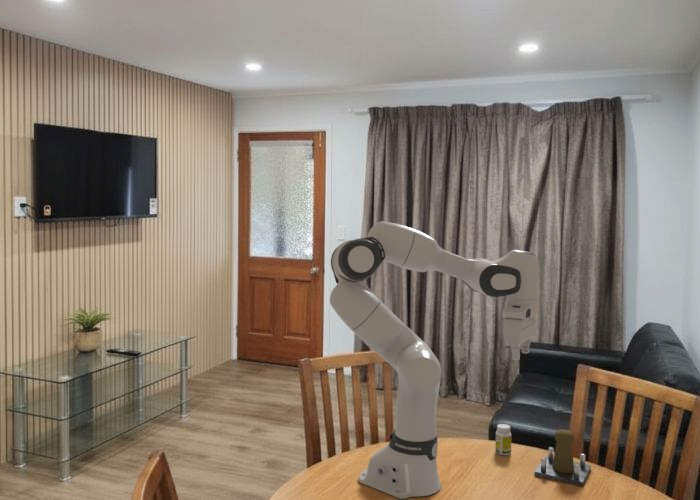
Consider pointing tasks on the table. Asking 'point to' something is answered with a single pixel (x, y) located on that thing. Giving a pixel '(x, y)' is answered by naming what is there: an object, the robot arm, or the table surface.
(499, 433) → the supplement bottle
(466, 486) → the table surface
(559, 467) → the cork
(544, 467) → the standoff chassis
